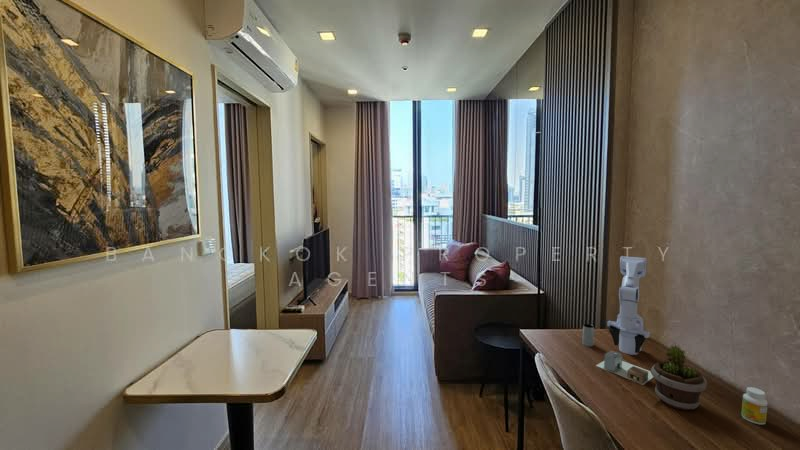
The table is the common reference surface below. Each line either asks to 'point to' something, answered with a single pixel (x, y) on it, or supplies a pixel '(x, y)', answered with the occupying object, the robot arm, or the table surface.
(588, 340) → the grey cylinder
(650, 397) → the table surface
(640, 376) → the cover
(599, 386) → the table surface
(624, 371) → the base
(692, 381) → the flowerpot
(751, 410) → the supplement bottle
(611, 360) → the grey block
